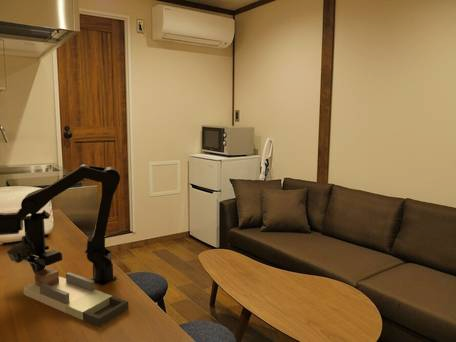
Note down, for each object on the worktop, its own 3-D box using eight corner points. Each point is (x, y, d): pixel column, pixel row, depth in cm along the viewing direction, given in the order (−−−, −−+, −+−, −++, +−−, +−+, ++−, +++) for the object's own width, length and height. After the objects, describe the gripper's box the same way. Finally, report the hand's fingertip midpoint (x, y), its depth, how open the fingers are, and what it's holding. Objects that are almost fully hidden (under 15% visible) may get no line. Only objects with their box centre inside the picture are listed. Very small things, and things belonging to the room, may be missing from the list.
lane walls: (94, 289, 122) (94, 281, 121) (66, 304, 113) (65, 294, 112) (69, 280, 127) (68, 272, 127) (40, 293, 119) (39, 284, 118)
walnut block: (59, 282, 126) (58, 271, 125) (45, 288, 122) (44, 276, 121) (49, 279, 128) (48, 267, 128) (35, 284, 124) (34, 273, 123)
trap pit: (128, 309, 115) (128, 301, 115) (99, 327, 106) (98, 319, 106) (112, 303, 119) (112, 295, 118) (83, 320, 109) (82, 312, 109)
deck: (112, 303, 119) (112, 295, 118) (83, 320, 109) (82, 312, 109) (54, 281, 132) (54, 274, 132) (24, 294, 123) (23, 287, 122)
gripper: (-7, 233, 122) (-3, 280, 125) (28, 245, 113) (32, 295, 116) (26, 224, 132) (30, 267, 135) (62, 234, 122) (65, 280, 125)
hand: (38, 277), depth 127 cm, fingers closed
